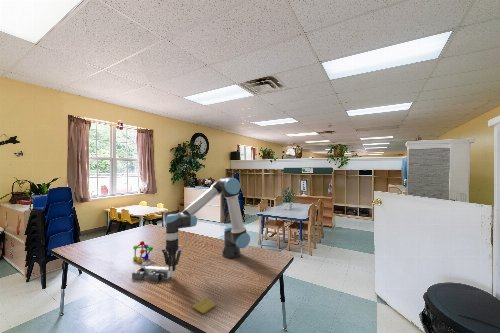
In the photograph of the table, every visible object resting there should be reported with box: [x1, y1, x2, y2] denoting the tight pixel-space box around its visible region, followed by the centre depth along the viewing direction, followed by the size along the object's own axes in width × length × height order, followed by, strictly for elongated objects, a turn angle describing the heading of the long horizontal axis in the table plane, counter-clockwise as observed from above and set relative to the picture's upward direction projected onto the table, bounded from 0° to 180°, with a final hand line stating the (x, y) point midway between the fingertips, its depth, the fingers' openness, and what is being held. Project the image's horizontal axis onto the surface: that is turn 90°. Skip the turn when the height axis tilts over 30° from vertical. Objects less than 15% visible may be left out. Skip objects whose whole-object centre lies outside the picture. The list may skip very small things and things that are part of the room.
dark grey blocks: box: [131, 265, 165, 282], centre depth 143 cm, size 21×10×5 cm, turn 81°
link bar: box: [144, 265, 171, 280], centre depth 142 cm, size 16×4×6 cm, turn 82°
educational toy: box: [132, 240, 154, 264], centre depth 170 cm, size 16×13×15 cm
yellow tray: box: [192, 297, 217, 315], centre depth 110 cm, size 9×9×2 cm
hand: (172, 275), depth 140 cm, fingers closed
